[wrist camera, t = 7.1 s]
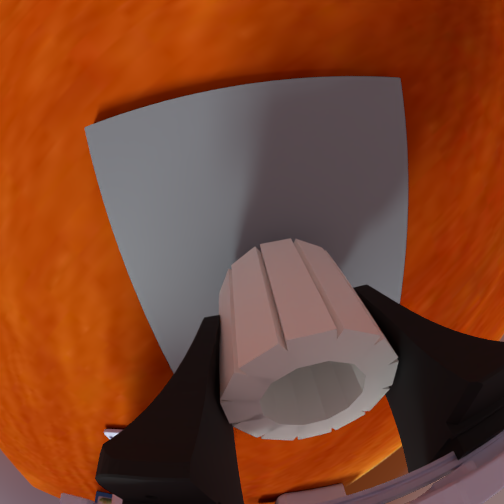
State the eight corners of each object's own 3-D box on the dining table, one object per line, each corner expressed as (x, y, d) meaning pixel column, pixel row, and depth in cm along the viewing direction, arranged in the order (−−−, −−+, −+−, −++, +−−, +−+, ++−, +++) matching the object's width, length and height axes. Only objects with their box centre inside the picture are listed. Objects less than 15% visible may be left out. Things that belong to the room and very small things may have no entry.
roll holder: (383, 358, 19) (401, 390, 16) (192, 397, 19) (190, 436, 16) (391, 78, 11) (432, 74, 8) (91, 126, 11) (55, 131, 8)
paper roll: (341, 328, 14) (382, 415, 9) (234, 350, 14) (242, 449, 9) (340, 229, 12) (410, 308, 7) (207, 254, 12) (199, 355, 7)
